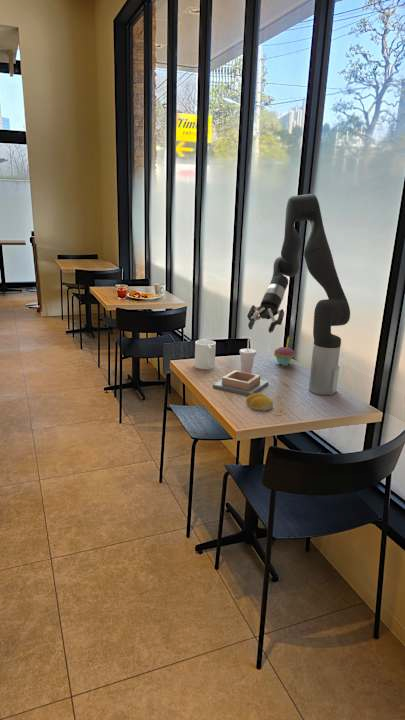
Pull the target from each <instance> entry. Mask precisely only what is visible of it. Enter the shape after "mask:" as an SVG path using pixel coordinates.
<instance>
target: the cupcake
mask: <svg viewBox="0 0 405 720" xmlns="http://www.w3.org/2000/svg"><path fill="white" fill-rule="evenodd" d="M289 342H290V336H288V337H287V340H286V345H285V346H286V347H284V346H281V347H278V348H276V349H275V350H274V352H273V356H274V357H275V358H276V361H277V362H276V363H277V364H278V363H279V364H282V365H281V366H289V365H290V363H291V361H292V359H293V358H294V357H295V351H294V350H293V349H292V348H290V347H289ZM279 364H278V365H279ZM288 364H289V365H288Z"/></svg>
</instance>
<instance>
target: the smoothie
mask: <svg viewBox="0 0 405 720" xmlns="http://www.w3.org/2000/svg"><path fill="white" fill-rule="evenodd" d="M256 354H257V351H256V349H254V348H253V349H252V348H250V339H249V338H248V339H247V348H241V349H239V355H240V368H241V369H240V371H242V372H247V373H253V366H254V361H255V358H256Z"/></svg>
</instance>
